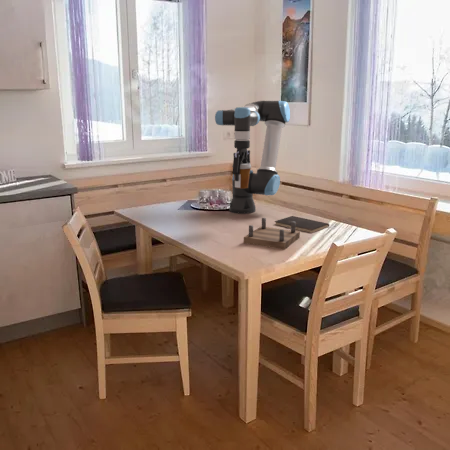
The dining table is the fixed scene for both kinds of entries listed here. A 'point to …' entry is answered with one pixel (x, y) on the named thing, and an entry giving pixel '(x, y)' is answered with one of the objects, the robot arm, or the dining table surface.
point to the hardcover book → (302, 224)
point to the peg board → (272, 236)
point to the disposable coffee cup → (244, 175)
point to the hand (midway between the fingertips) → (241, 185)
